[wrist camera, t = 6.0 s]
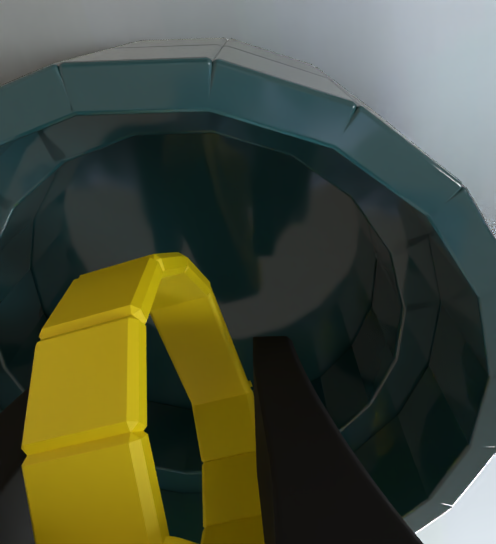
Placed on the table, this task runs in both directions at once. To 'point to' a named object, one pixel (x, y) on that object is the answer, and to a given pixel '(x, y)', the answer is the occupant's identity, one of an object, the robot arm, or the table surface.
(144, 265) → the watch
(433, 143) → the table surface
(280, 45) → the table surface
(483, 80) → the table surface
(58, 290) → the bowl
